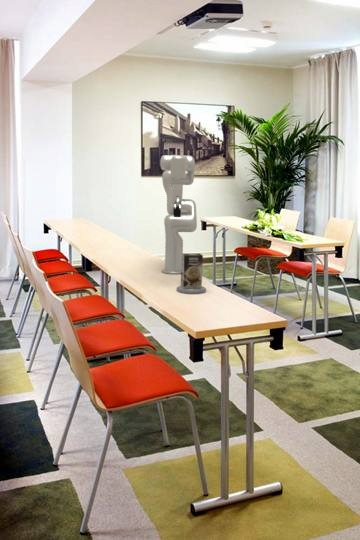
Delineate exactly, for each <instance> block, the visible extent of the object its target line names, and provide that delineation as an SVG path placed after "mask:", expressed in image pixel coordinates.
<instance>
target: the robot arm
mask: <svg viewBox="0 0 360 540" xmlns="http://www.w3.org/2000/svg"><path fill="white" fill-rule="evenodd" d="M195 161H196V160H195V158H194V157H193V156H192V155H188V154H187V155H183V154H182V155H181V154H180V155H179V154H172V155H171V154H170V155H169V154H168V155H167V154H163V155H162V156H161V158H160V160H159V162H160V163H159V164H160V165H159V166H160V169H161V170H162V171H163V172H162V186H163V189H164V192H165V194H166V212H167V215H165V217H164V222H163V224H164V232H165V233H164V234H165V247H164V248H165V249H164V250H165V251H164V268H162V269H161V272H162V273H163V274H169V275H170V274H171V275H181V265H182V253H184V252H183V251H184V248H183V247H184V239H183V237H182V236H181V235H180V234H179V233H193V232H195V231H196V230H197V227H198V220H197V205H196V202H195V200H193V199H191V198H190V199H189V198H183V194H184V193H183V192H184V191H183V190H184V187H183V186H190V185H192V184H193V183H194V180H195V170H196V169H195V168H196V163H195Z"/></svg>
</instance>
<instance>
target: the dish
mask: <svg viewBox="0 0 360 540" xmlns="http://www.w3.org/2000/svg"><path fill="white" fill-rule="evenodd" d="M206 291H207V289H206V287H204V286H203V285H202V288H199V289H183V288H182V287H181V285H178V286H177V287H176V292H178V293H180V294H187V295H198V294H199V295H200V294H201V295H202V294H204V293H206Z"/></svg>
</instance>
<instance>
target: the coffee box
mask: <svg viewBox="0 0 360 540" xmlns="http://www.w3.org/2000/svg"><path fill="white" fill-rule="evenodd" d="M203 258H204V255H203V254H201V253H197V252H196V253H191V252H190V253H184V252H183V253H182V265H181V274H180V286H181V287H182V288H183V289H199V288H202V286H203V285H202V283H203V263H204V262H203V261H204V260H203Z"/></svg>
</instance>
